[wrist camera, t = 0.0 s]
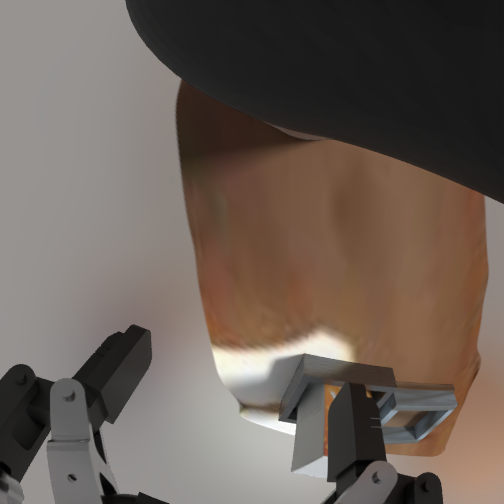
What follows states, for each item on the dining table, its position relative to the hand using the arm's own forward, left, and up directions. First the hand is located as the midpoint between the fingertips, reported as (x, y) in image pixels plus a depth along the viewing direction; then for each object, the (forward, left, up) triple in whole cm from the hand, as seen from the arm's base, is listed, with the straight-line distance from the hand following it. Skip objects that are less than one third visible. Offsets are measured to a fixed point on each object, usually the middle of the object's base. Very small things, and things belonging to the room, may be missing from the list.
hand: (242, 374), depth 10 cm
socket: (+20, +13, -17) cm, 29 cm away
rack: (+23, +27, -17) cm, 39 cm away
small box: (+20, +13, -17) cm, 29 cm away
